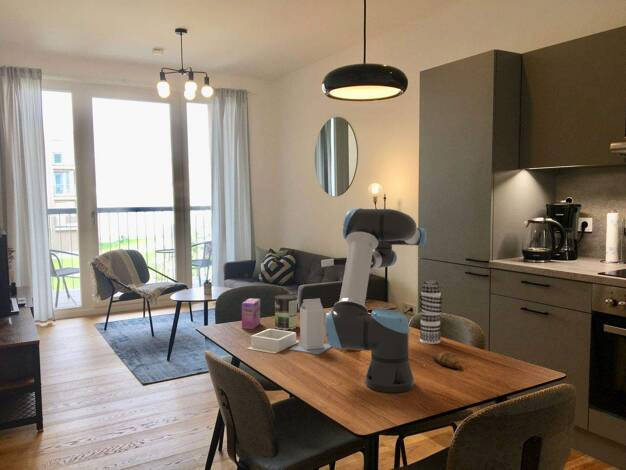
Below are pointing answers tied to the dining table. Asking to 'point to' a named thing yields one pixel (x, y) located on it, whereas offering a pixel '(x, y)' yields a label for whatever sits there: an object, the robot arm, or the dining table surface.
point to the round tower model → (430, 312)
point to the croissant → (447, 359)
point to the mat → (312, 351)
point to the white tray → (272, 340)
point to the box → (250, 313)
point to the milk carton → (312, 324)
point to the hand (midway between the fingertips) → (333, 265)
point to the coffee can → (285, 311)
